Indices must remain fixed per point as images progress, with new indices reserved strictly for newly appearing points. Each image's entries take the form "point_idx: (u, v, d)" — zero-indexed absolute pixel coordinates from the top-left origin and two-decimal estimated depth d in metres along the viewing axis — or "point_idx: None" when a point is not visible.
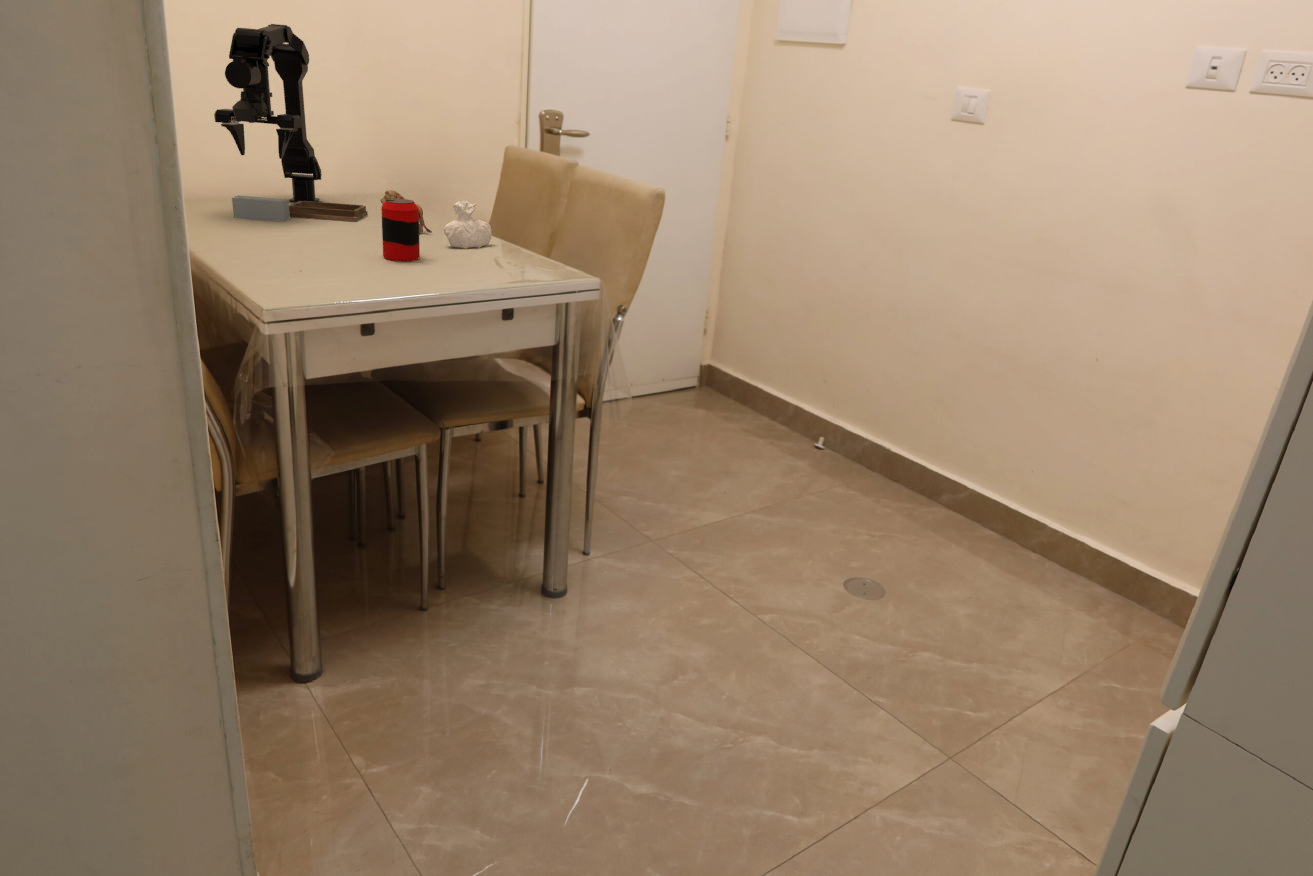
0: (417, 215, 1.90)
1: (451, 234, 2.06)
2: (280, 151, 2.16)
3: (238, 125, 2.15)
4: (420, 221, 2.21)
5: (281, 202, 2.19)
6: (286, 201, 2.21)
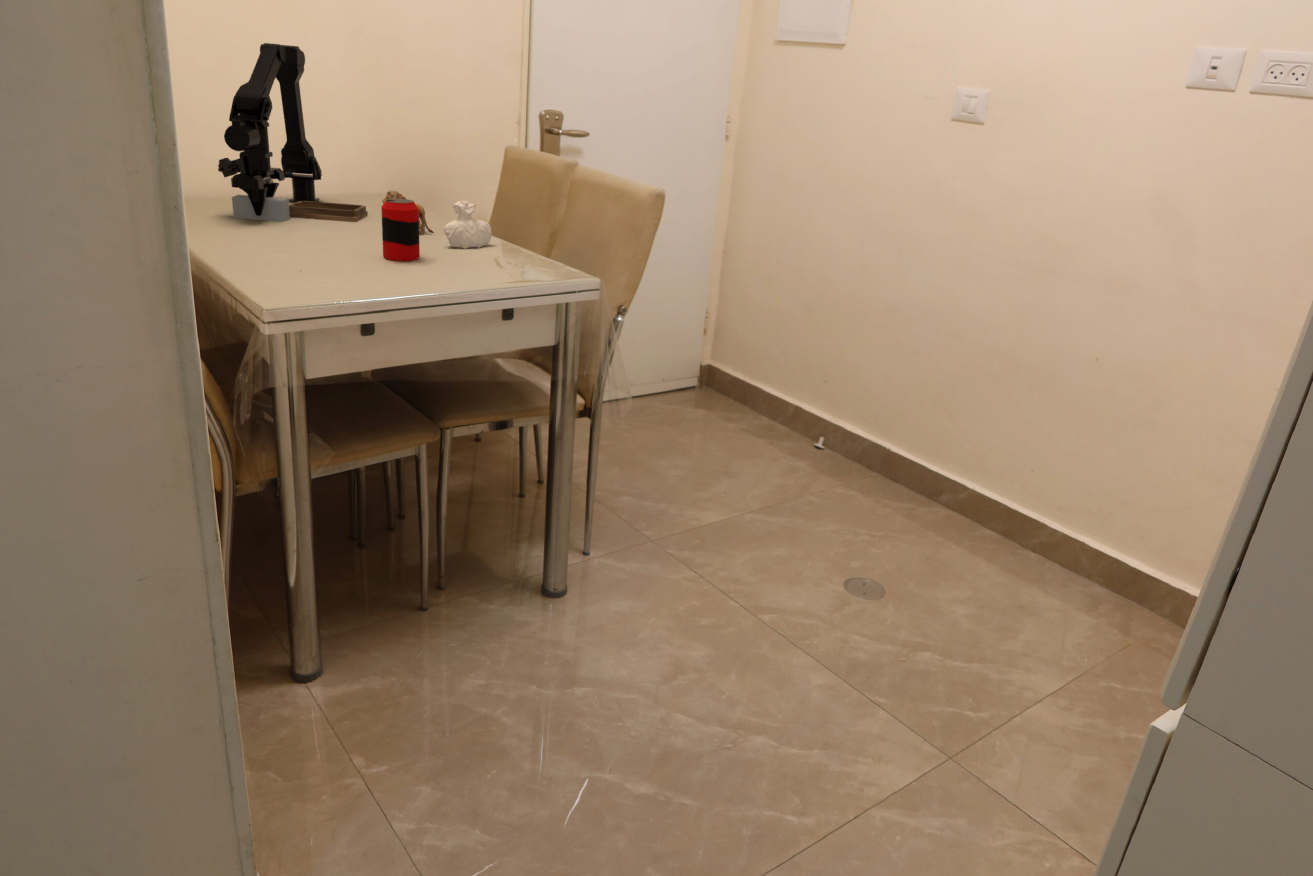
0: (417, 215, 1.90)
1: (451, 234, 2.06)
2: None
3: (264, 184, 2.22)
4: (422, 222, 2.21)
5: (281, 201, 2.19)
6: (286, 200, 2.21)
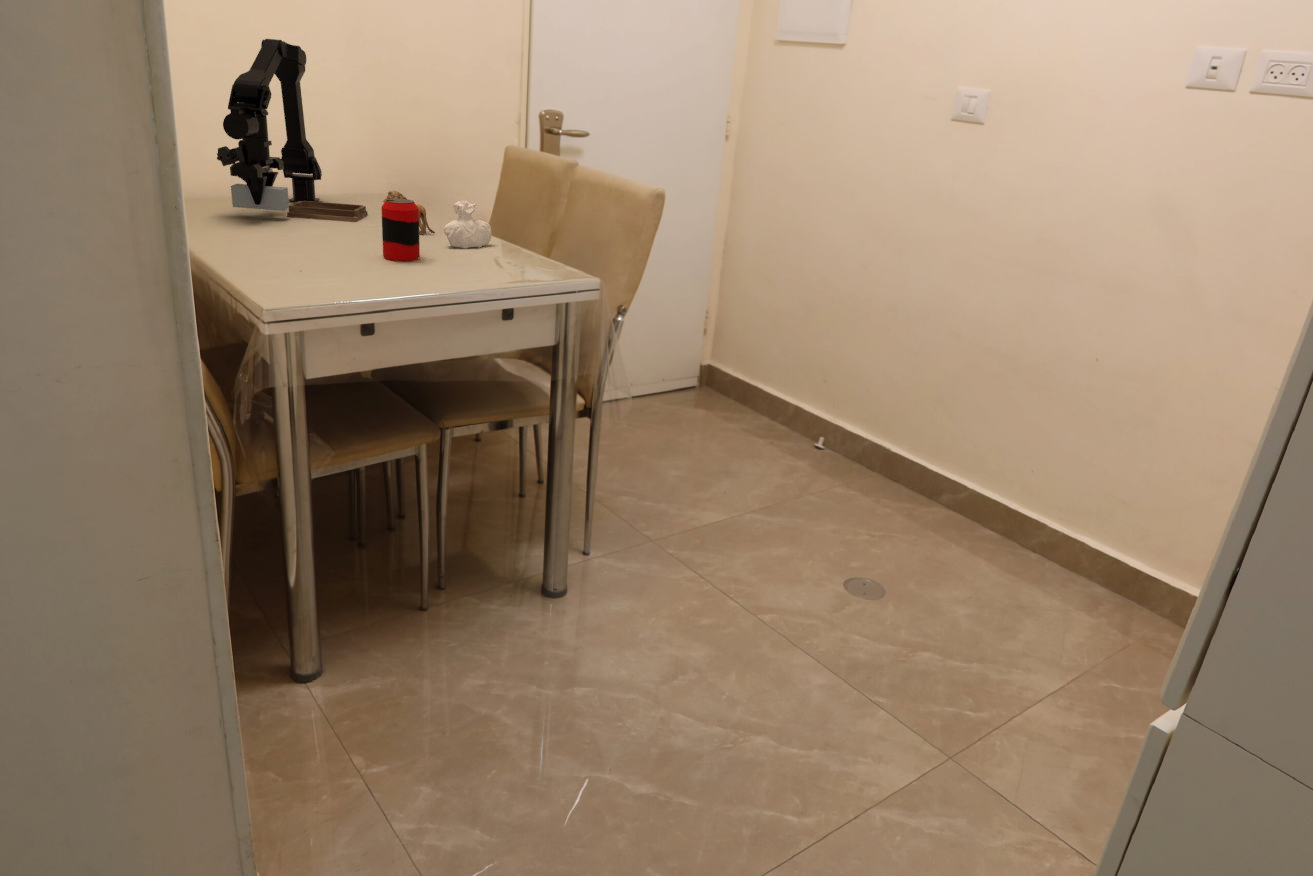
0: (417, 215, 1.90)
1: (451, 234, 2.06)
2: None
3: (263, 173, 2.21)
4: (423, 222, 2.21)
5: (280, 190, 2.18)
6: (285, 189, 2.20)
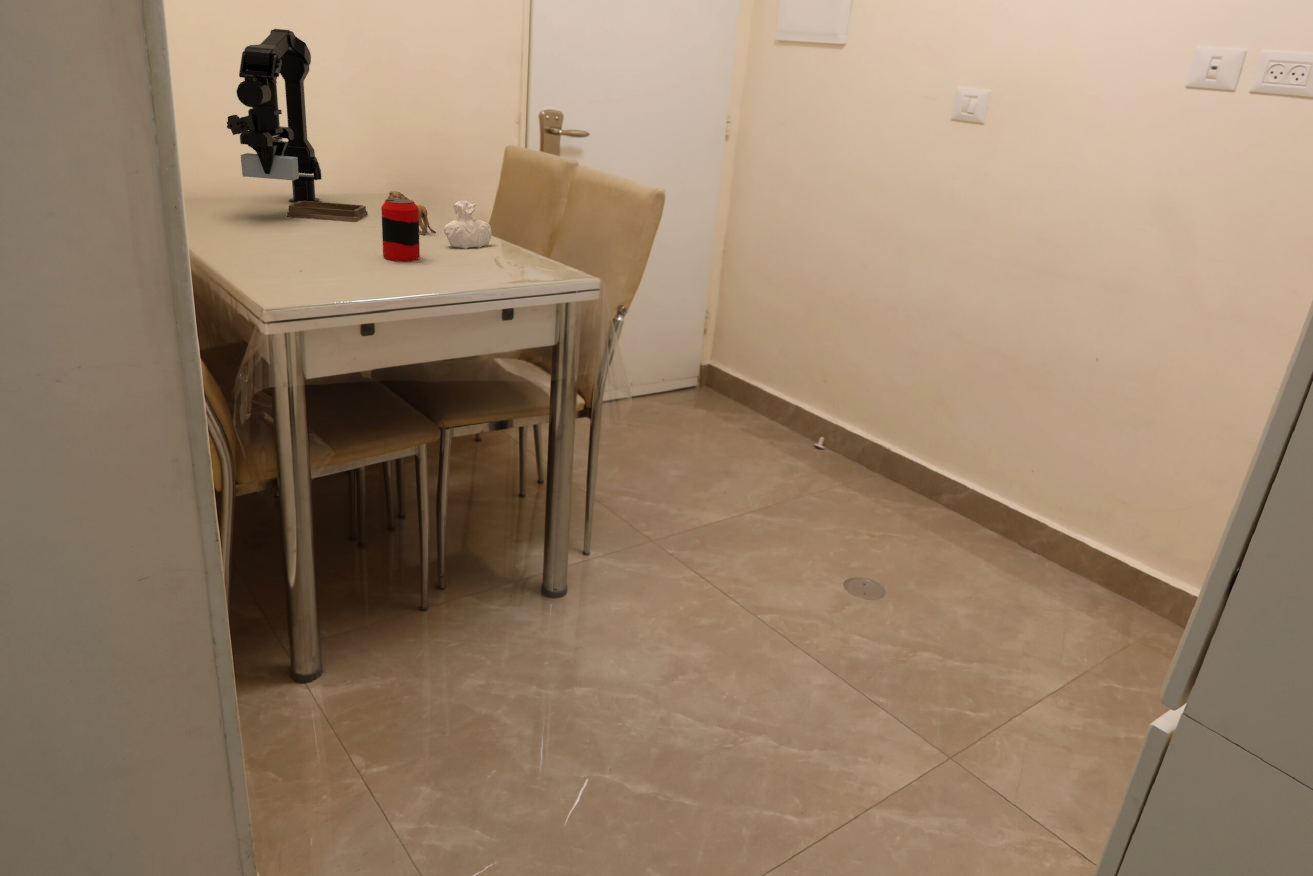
0: (417, 215, 1.90)
1: (451, 234, 2.06)
2: None
3: (273, 143, 2.20)
4: (424, 222, 2.21)
5: (290, 159, 2.17)
6: (295, 159, 2.19)
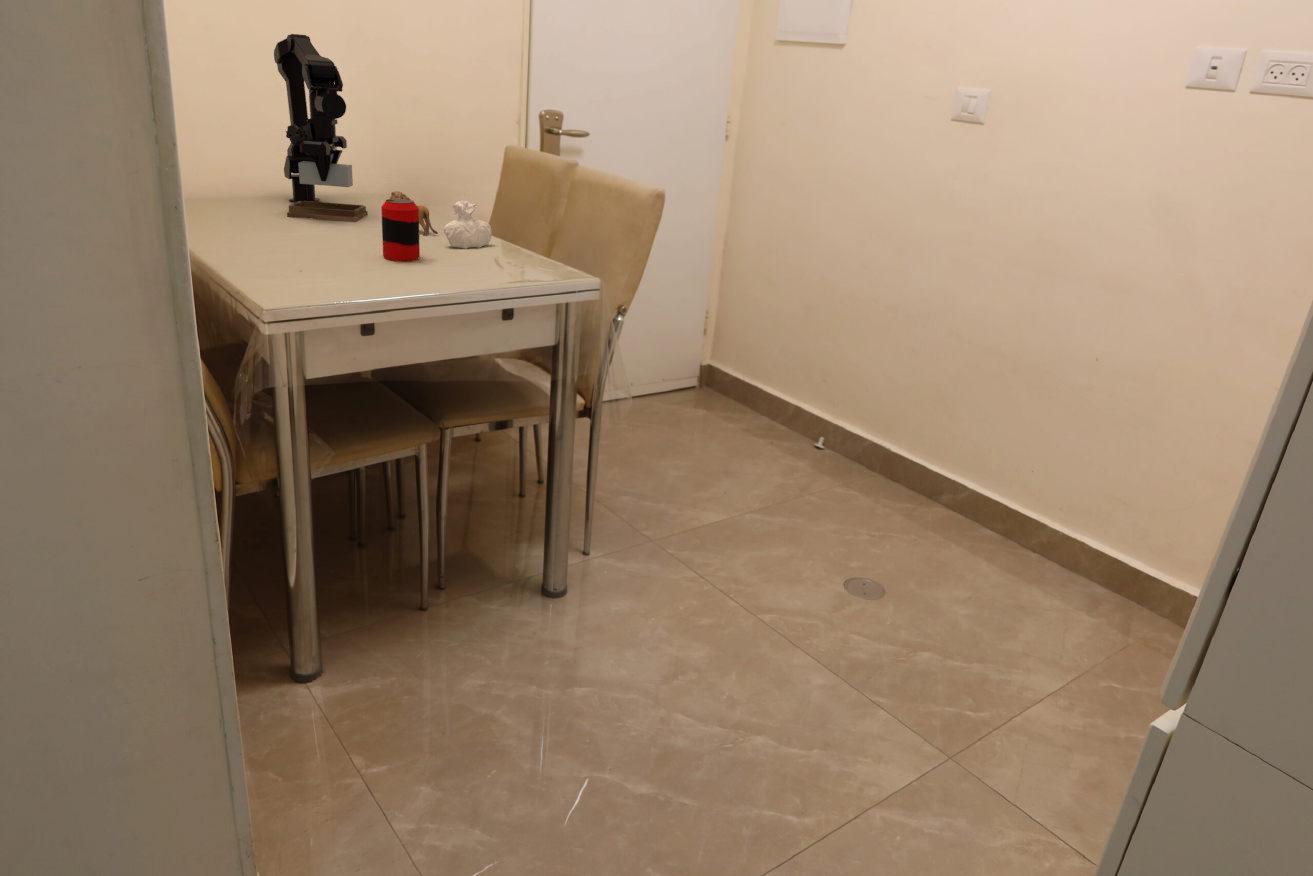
0: (417, 215, 1.90)
1: (451, 234, 2.06)
2: None
3: None
4: (426, 222, 2.20)
5: (346, 167, 2.26)
6: (350, 167, 2.28)
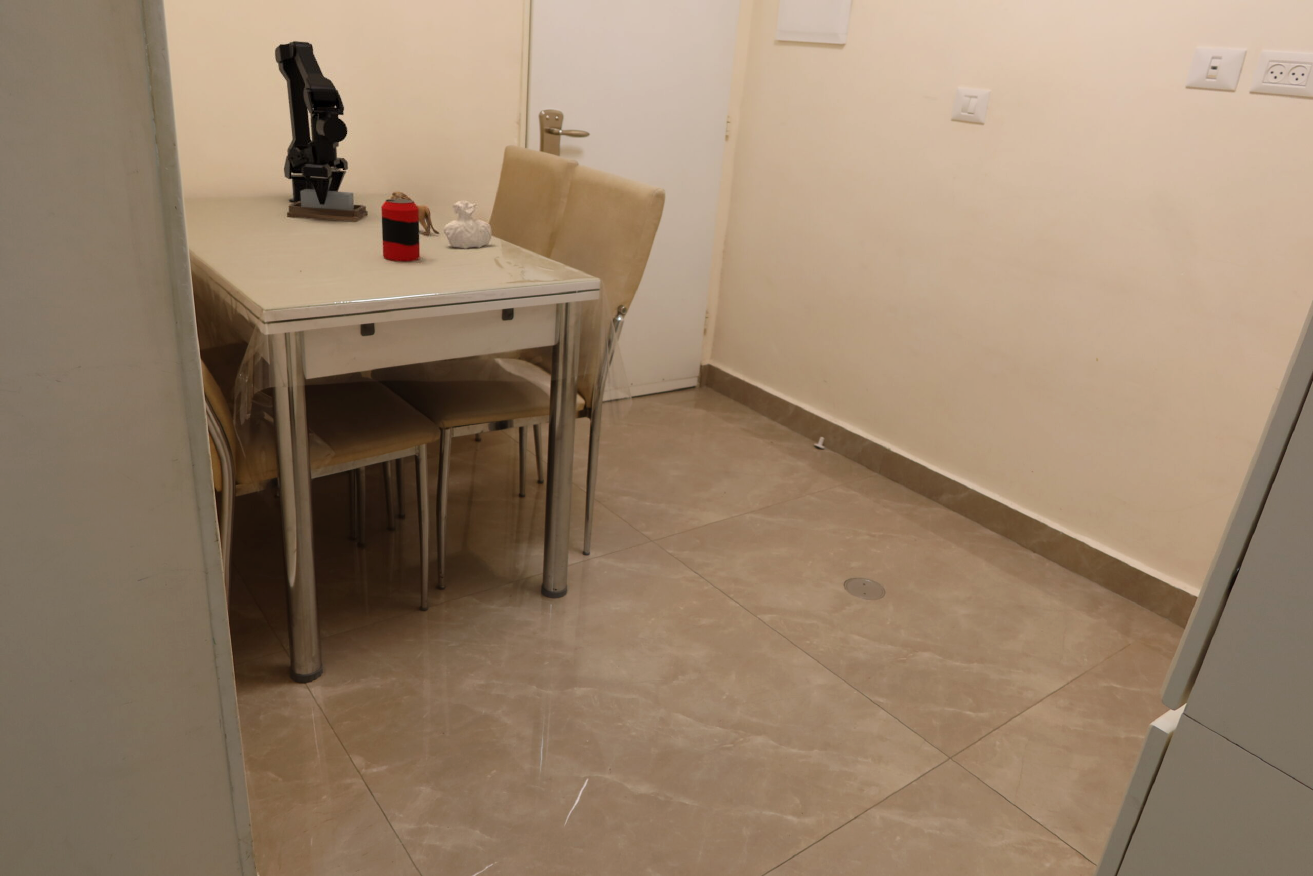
0: (417, 215, 1.90)
1: (451, 234, 2.06)
2: None
3: (332, 172, 2.33)
4: (427, 223, 2.20)
5: (347, 195, 2.28)
6: (351, 194, 2.31)
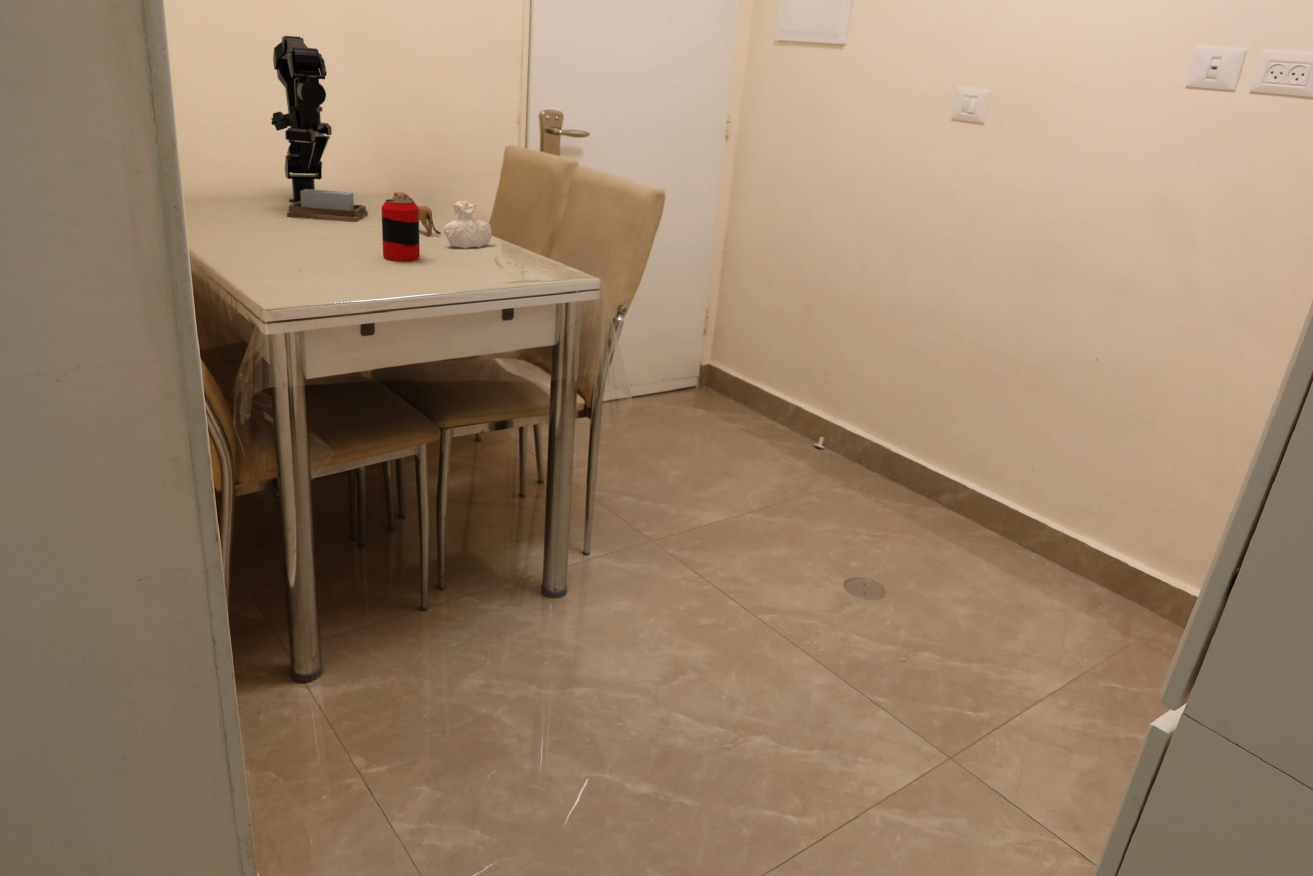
0: (417, 215, 1.90)
1: (451, 234, 2.06)
2: None
3: (316, 137, 2.34)
4: (429, 223, 2.20)
5: (347, 195, 2.28)
6: (351, 194, 2.31)
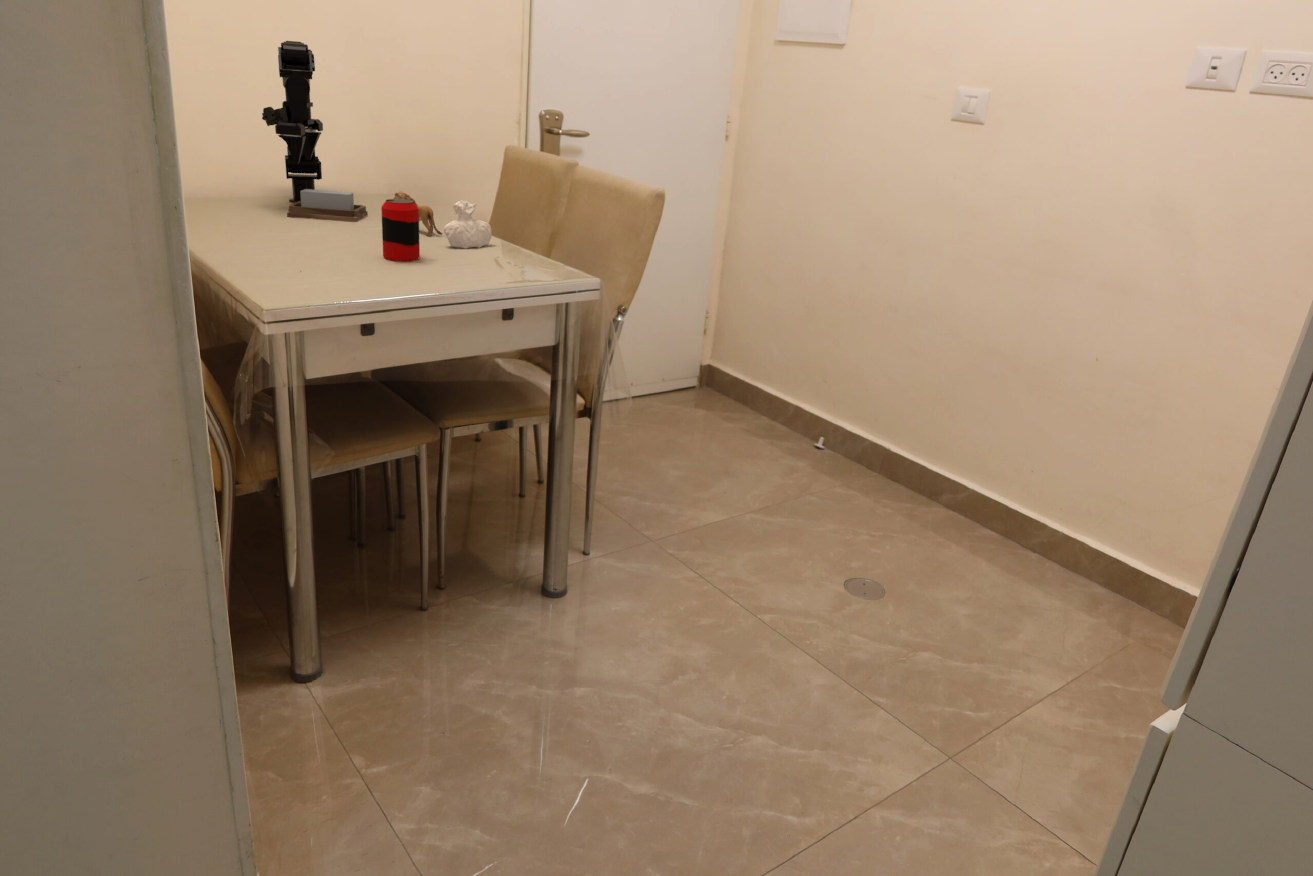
0: (417, 215, 1.90)
1: (451, 234, 2.06)
2: None
3: (307, 133, 2.36)
4: (430, 223, 2.20)
5: (347, 195, 2.28)
6: (351, 194, 2.31)
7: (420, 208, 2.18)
